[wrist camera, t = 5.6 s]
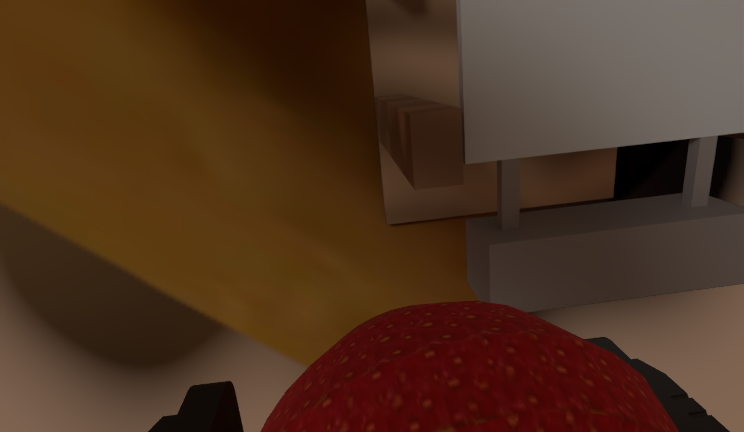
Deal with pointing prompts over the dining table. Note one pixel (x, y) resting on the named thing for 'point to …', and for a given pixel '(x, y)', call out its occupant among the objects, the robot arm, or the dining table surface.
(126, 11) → the dining table surface
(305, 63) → the dining table surface
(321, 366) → the strawberry
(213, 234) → the dining table surface
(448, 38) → the stand
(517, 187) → the trapdoor
